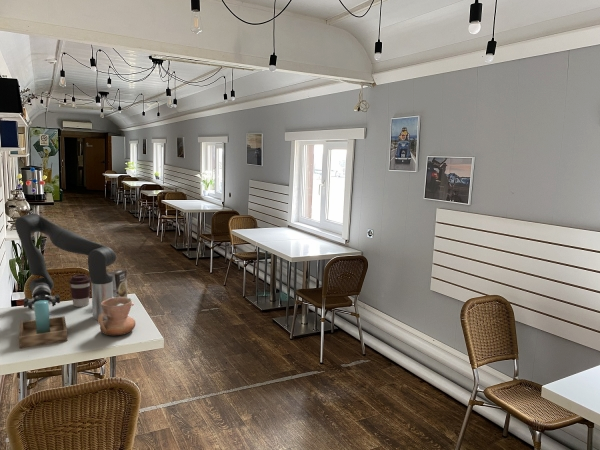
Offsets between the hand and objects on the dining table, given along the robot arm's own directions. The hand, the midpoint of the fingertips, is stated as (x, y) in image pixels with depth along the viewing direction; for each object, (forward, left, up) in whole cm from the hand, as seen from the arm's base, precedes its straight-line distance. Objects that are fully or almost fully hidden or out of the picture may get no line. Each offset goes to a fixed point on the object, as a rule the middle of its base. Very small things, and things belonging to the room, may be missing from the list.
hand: (42, 305), depth 205 cm
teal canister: (0, +10, -9) cm, 14 cm away
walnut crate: (0, +10, -10) cm, 15 cm away
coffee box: (-34, -24, -10) cm, 43 cm away
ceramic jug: (-28, +18, -10) cm, 35 cm away
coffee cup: (-17, -26, -10) cm, 32 cm away
